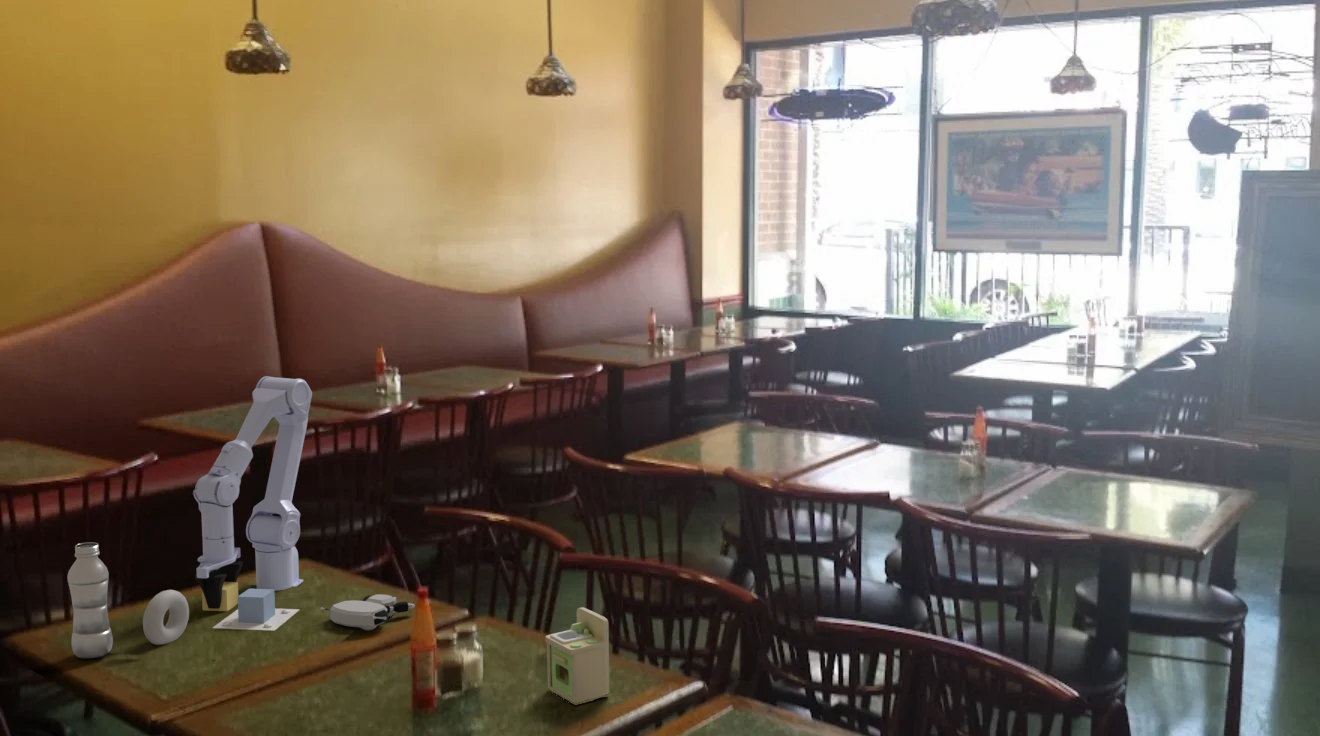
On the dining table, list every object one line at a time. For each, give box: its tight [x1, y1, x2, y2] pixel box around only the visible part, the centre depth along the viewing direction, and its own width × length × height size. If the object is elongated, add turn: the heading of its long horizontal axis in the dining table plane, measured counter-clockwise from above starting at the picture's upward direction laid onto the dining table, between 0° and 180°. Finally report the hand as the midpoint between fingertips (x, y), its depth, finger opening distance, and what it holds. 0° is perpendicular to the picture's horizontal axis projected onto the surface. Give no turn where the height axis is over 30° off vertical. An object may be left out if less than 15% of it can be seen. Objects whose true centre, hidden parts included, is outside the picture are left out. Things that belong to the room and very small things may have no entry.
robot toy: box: [320, 593, 416, 631], centre depth 227 cm, size 12×4×15 cm
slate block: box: [237, 588, 276, 623], centre depth 225 cm, size 5×5×5 cm
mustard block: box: [201, 581, 240, 612], centre depth 232 cm, size 5×5×5 cm
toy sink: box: [544, 606, 610, 703], centre depth 192 cm, size 8×7×13 cm
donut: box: [142, 589, 190, 646], centre depth 213 cm, size 10×3×10 cm, turn 161°
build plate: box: [212, 607, 300, 632], centre depth 226 cm, size 12×12×1 cm
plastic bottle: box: [67, 542, 114, 659], centre depth 207 cm, size 6×7×20 cm
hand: (220, 603), depth 233 cm, fingers closed on mustard block, 5 cm apart
